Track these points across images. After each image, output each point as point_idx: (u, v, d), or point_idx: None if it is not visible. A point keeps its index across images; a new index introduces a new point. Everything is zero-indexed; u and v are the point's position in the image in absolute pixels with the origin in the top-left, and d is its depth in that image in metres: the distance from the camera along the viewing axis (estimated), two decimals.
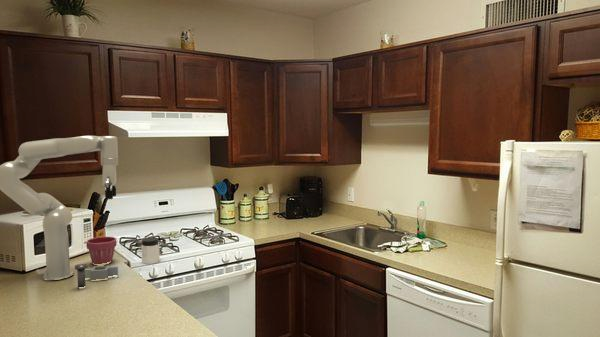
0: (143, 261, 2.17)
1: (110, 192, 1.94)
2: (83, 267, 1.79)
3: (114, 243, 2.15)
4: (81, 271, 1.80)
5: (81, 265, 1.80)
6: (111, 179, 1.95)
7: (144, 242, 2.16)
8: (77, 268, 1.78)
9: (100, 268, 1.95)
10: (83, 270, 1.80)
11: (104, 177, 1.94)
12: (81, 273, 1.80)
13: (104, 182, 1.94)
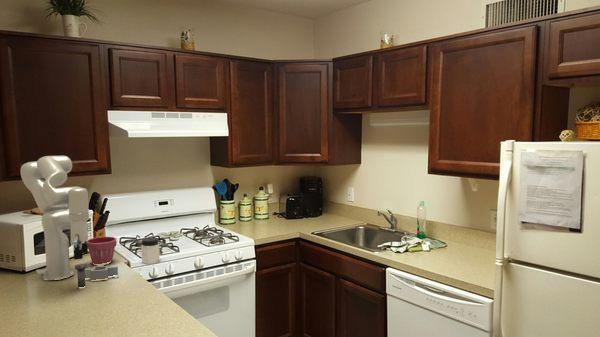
0: (143, 261, 2.17)
1: (79, 251, 1.75)
2: (83, 267, 1.79)
3: (114, 243, 2.15)
4: (81, 271, 1.80)
5: (81, 265, 1.80)
6: (80, 237, 1.75)
7: (144, 242, 2.16)
8: (77, 268, 1.78)
9: (100, 268, 1.95)
10: (83, 270, 1.80)
11: (72, 235, 1.74)
12: (81, 273, 1.80)
13: (72, 241, 1.74)
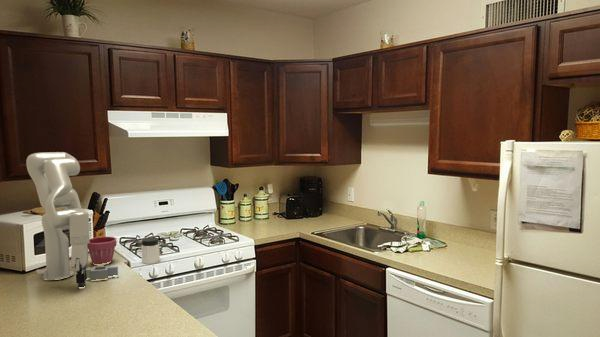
0: (143, 261, 2.17)
1: (81, 275, 1.79)
2: (83, 267, 1.79)
3: (114, 243, 2.15)
4: None
5: (81, 265, 1.80)
6: (81, 260, 1.76)
7: (144, 242, 2.16)
8: None
9: (100, 268, 1.95)
10: None
11: (73, 259, 1.75)
12: None
13: (73, 264, 1.75)
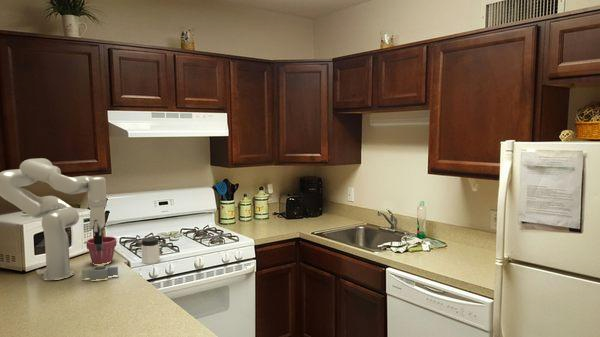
0: (143, 261, 2.17)
1: (99, 237, 1.90)
2: (101, 229, 1.90)
3: (114, 243, 2.15)
4: None
5: (99, 228, 1.91)
6: (99, 222, 1.87)
7: (144, 242, 2.16)
8: None
9: (100, 268, 1.95)
10: (101, 232, 1.91)
11: (91, 220, 1.86)
12: None
13: (91, 226, 1.86)
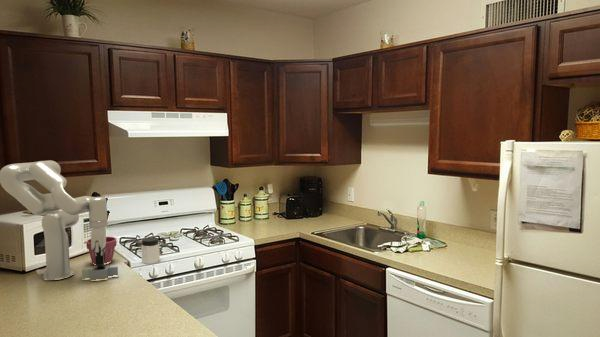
0: (143, 261, 2.17)
1: (101, 257, 1.91)
2: (102, 249, 1.91)
3: (114, 243, 2.15)
4: None
5: None
6: (100, 243, 1.88)
7: (144, 242, 2.16)
8: None
9: None
10: (102, 252, 1.92)
11: (93, 241, 1.87)
12: None
13: (93, 246, 1.87)
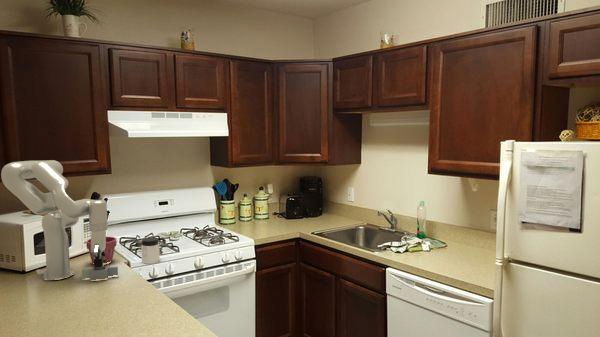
0: (143, 261, 2.17)
1: (99, 260, 1.89)
2: None
3: (114, 243, 2.15)
4: None
5: None
6: (100, 246, 1.88)
7: (144, 242, 2.16)
8: None
9: None
10: None
11: (92, 244, 1.87)
12: None
13: (92, 249, 1.87)
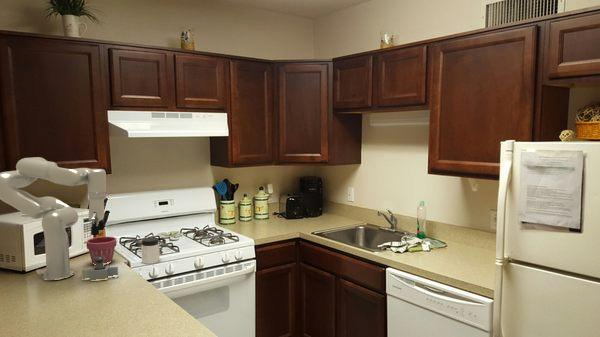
0: (143, 261, 2.17)
1: (96, 228, 1.88)
2: (102, 259, 1.92)
3: (114, 243, 2.15)
4: (99, 263, 1.92)
5: (100, 257, 1.93)
6: (98, 214, 1.88)
7: (144, 242, 2.16)
8: (96, 260, 1.91)
9: None
10: (101, 262, 1.93)
11: (90, 212, 1.87)
12: (100, 264, 1.92)
13: (90, 217, 1.87)
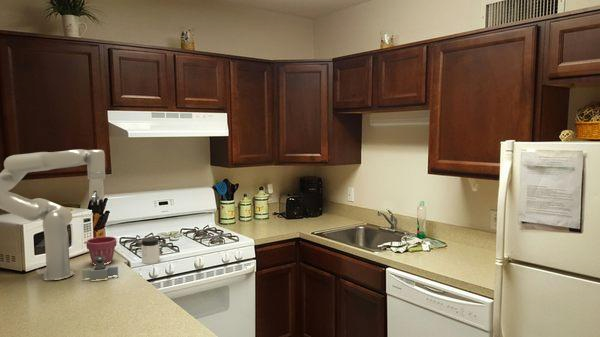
0: (143, 261, 2.17)
1: (97, 206, 1.93)
2: (102, 259, 1.91)
3: (114, 243, 2.15)
4: (100, 263, 1.92)
5: (100, 257, 1.93)
6: (98, 193, 1.94)
7: (144, 242, 2.16)
8: (96, 260, 1.91)
9: None
10: (102, 262, 1.92)
11: (91, 191, 1.93)
12: (100, 264, 1.92)
13: (91, 196, 1.93)
